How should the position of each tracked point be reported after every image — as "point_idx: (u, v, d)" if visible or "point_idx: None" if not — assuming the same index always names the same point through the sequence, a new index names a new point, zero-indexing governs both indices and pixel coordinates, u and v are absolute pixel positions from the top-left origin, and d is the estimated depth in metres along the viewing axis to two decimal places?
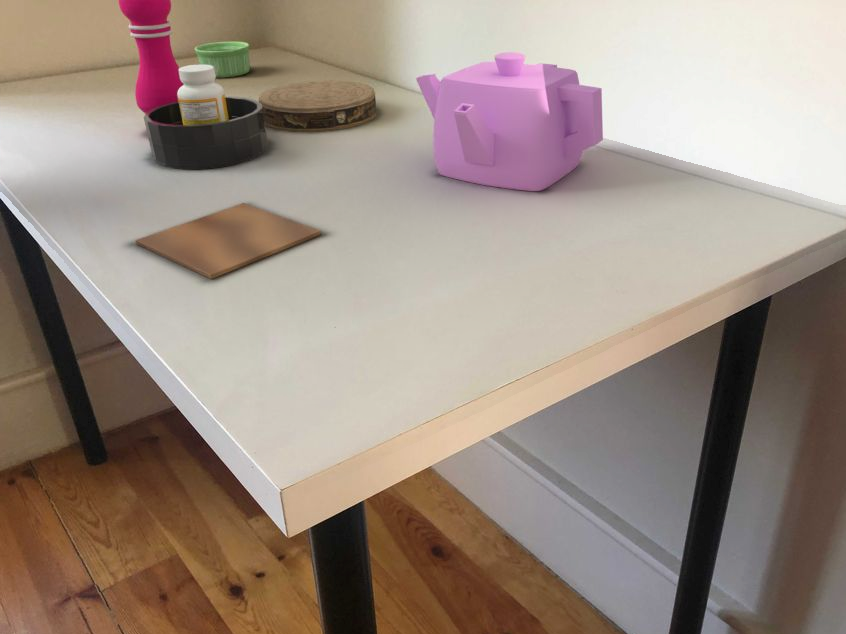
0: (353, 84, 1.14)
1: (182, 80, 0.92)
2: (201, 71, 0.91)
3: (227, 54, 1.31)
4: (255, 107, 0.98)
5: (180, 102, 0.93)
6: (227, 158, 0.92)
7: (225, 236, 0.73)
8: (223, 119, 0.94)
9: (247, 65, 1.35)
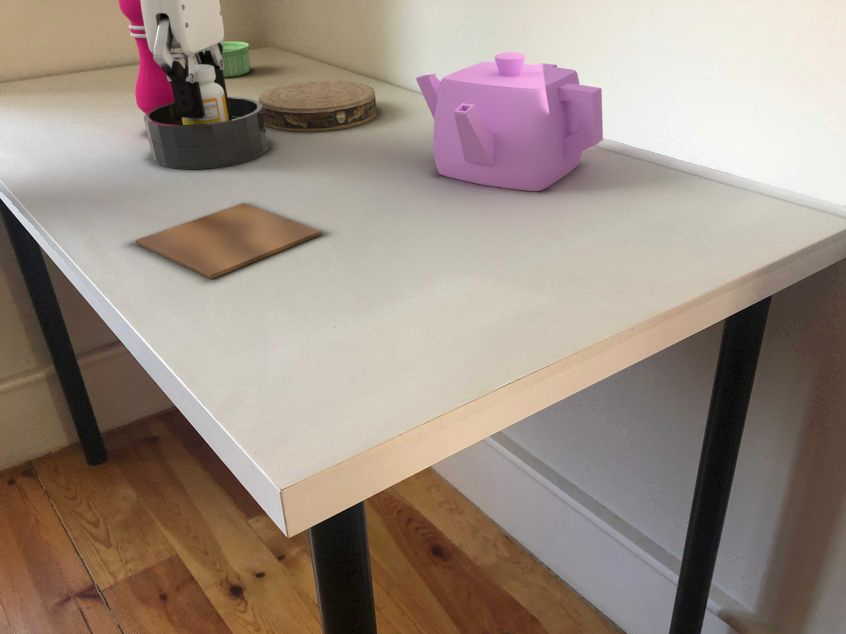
0: (353, 84, 1.14)
1: None
2: (201, 71, 0.91)
3: (227, 54, 1.31)
4: (255, 107, 0.98)
5: None
6: (227, 158, 0.92)
7: (225, 236, 0.73)
8: (223, 119, 0.94)
9: (247, 65, 1.35)
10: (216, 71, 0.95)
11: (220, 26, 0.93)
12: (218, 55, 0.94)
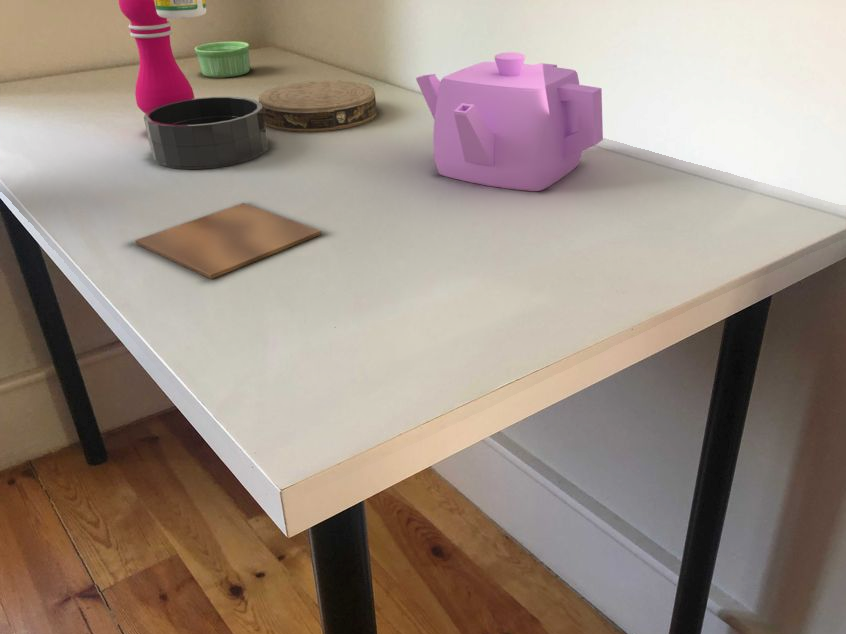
0: (353, 84, 1.14)
1: None
2: None
3: (227, 54, 1.31)
4: (255, 107, 0.98)
5: None
6: (227, 158, 0.92)
7: (225, 236, 0.73)
8: None
9: (247, 65, 1.35)
10: None
11: None
12: None
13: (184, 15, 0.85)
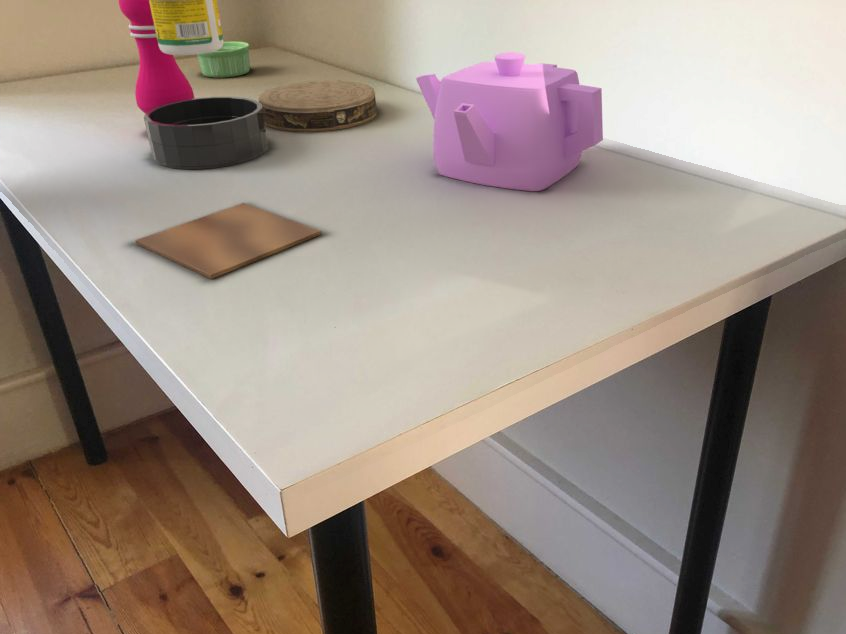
0: (353, 84, 1.14)
1: None
2: None
3: (227, 54, 1.31)
4: (255, 107, 0.98)
5: None
6: (227, 158, 0.92)
7: (225, 236, 0.73)
8: (210, 2, 0.64)
9: (247, 65, 1.35)
10: None
11: None
12: None
13: (195, 51, 0.65)
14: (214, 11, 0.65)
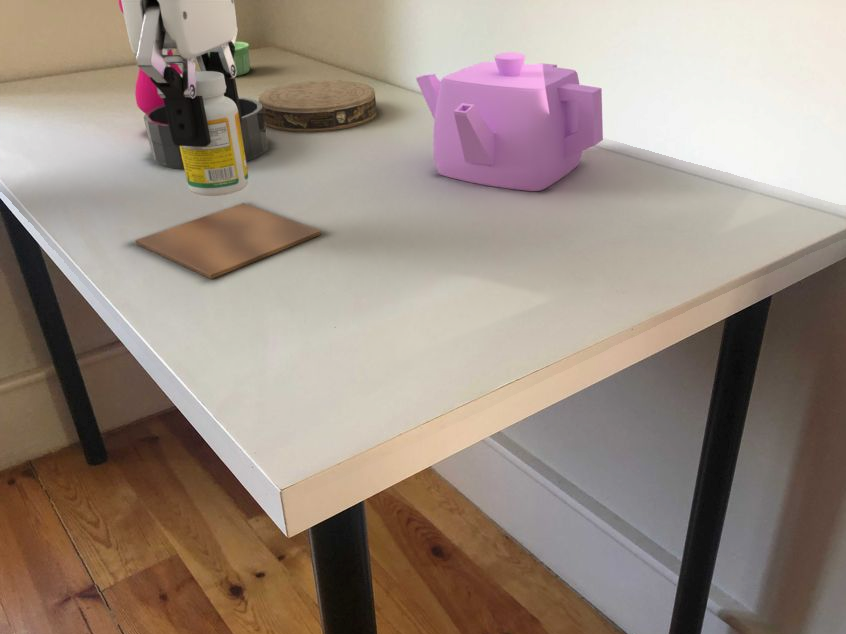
0: (353, 84, 1.13)
1: None
2: (206, 81, 0.65)
3: None
4: (255, 107, 0.98)
5: None
6: None
7: (225, 236, 0.73)
8: (237, 147, 0.68)
9: (247, 65, 1.35)
10: (226, 80, 0.69)
11: (232, 18, 0.67)
12: (229, 58, 0.68)
13: (222, 192, 0.69)
14: (240, 154, 0.69)
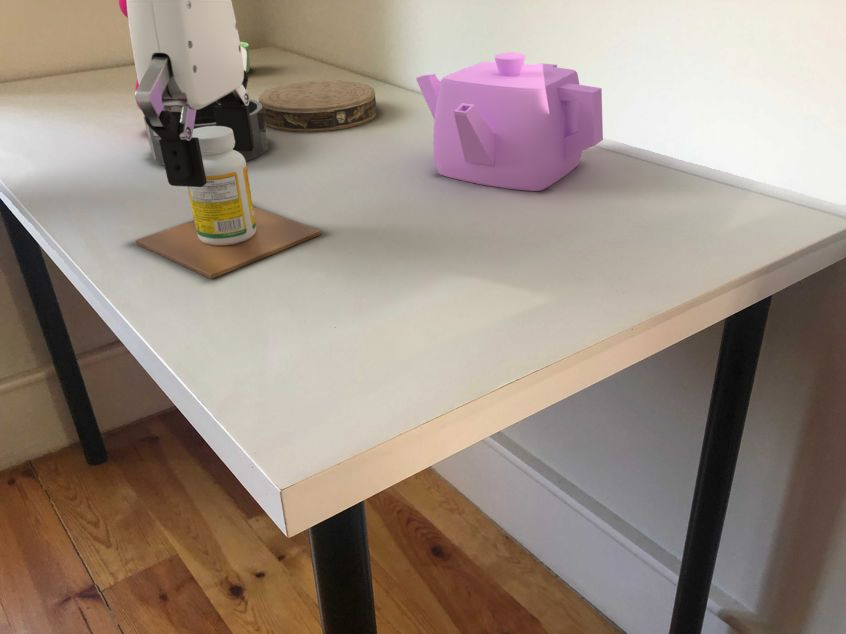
0: (353, 84, 1.13)
1: None
2: (216, 138, 0.67)
3: None
4: (255, 107, 0.98)
5: None
6: None
7: None
8: (245, 199, 0.71)
9: (247, 65, 1.35)
10: (240, 108, 0.72)
11: (239, 66, 0.69)
12: (242, 87, 0.71)
13: (231, 242, 0.71)
14: (248, 206, 0.71)
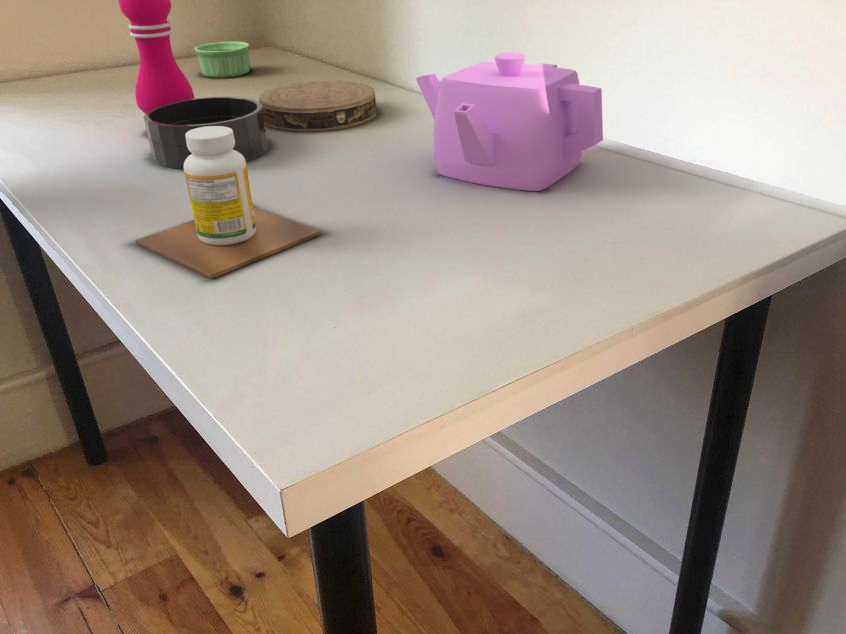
0: (353, 84, 1.14)
1: (190, 149, 0.68)
2: (216, 138, 0.67)
3: (227, 54, 1.31)
4: (255, 107, 0.98)
5: (187, 178, 0.69)
6: None
7: None
8: (245, 199, 0.71)
9: (247, 65, 1.35)
10: None
11: None
12: None
13: (231, 242, 0.71)
14: (248, 206, 0.71)
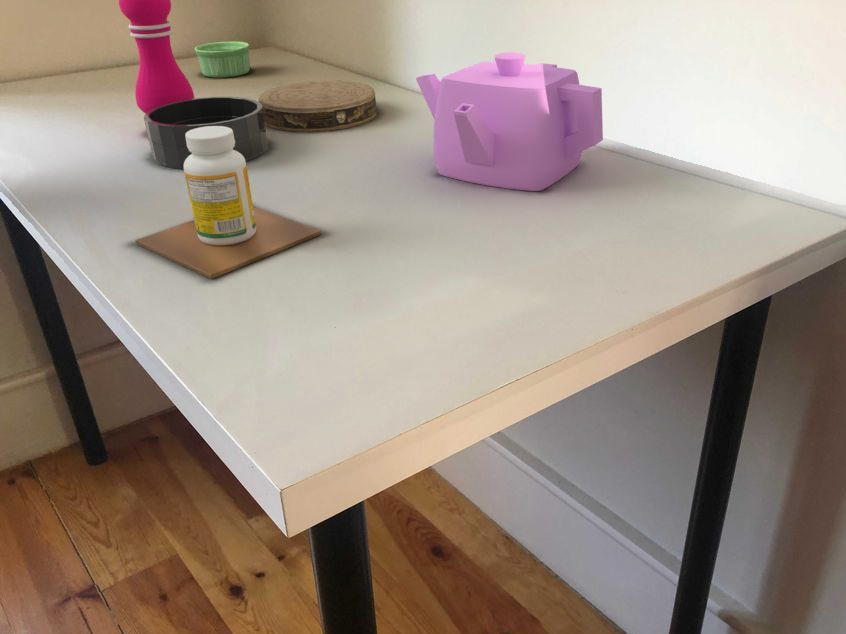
0: (353, 84, 1.14)
1: (190, 149, 0.68)
2: (216, 138, 0.67)
3: (227, 54, 1.31)
4: (255, 107, 0.98)
5: (187, 178, 0.69)
6: None
7: None
8: (245, 199, 0.71)
9: (247, 65, 1.35)
10: None
11: None
12: None
13: (231, 242, 0.71)
14: (248, 206, 0.71)
